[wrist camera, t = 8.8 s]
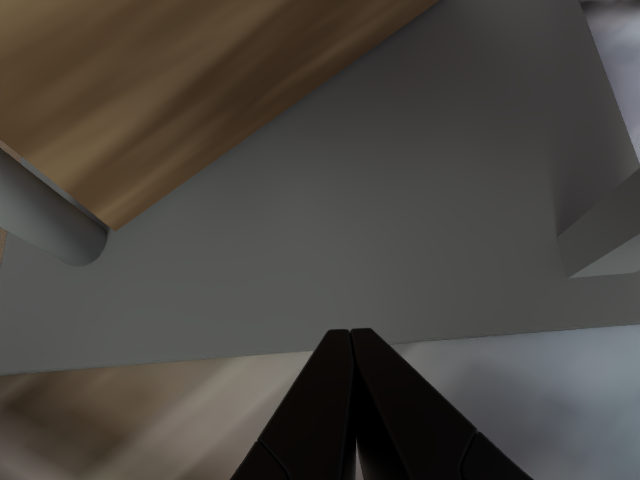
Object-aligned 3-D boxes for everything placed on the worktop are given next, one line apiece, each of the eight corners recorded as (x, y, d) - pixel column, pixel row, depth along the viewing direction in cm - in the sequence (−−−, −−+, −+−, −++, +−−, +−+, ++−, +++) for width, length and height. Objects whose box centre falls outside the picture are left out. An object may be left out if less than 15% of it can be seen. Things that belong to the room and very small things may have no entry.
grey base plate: (683, 320, 21) (1529, 79, 6) (-8, 376, 22) (-796, 285, 7) (566, -5, 28) (817, -480, 13) (51, 45, 29) (-263, -355, 14)
